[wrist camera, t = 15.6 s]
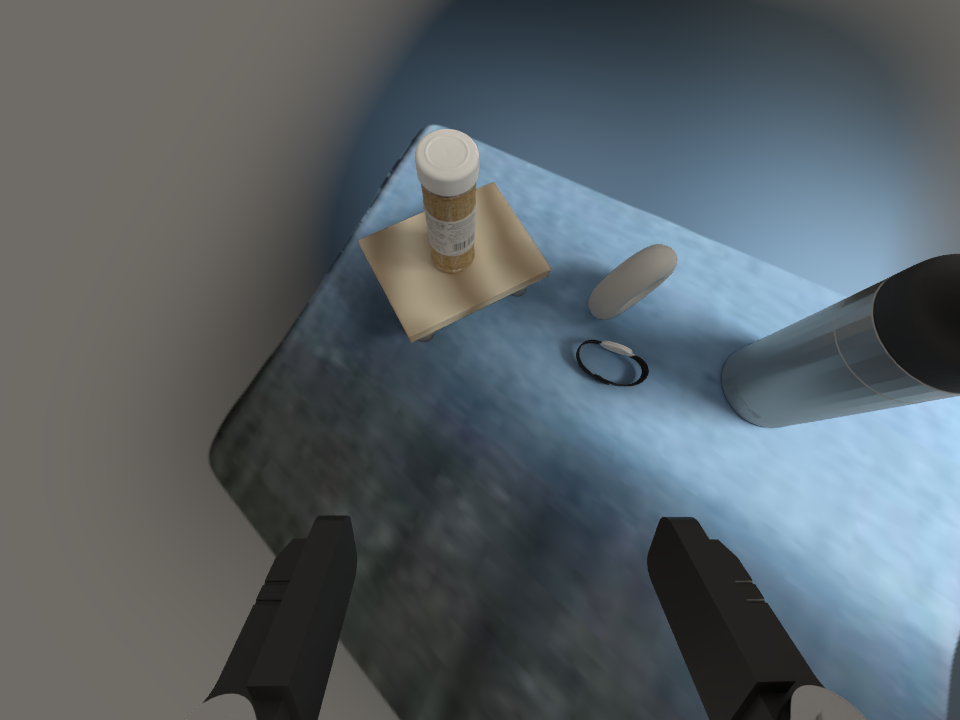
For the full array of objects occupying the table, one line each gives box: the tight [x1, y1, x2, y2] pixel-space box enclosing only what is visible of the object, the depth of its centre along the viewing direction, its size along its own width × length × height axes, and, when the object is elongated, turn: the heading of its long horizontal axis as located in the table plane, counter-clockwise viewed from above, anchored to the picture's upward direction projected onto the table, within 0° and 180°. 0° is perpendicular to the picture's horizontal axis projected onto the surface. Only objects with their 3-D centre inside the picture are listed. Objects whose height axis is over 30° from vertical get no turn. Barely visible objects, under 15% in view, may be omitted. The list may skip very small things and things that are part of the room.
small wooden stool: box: [358, 182, 551, 343], centre depth 44 cm, size 16×12×6 cm
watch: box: [576, 340, 649, 386], centre depth 43 cm, size 8×5×4 cm, turn 67°
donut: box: [588, 244, 677, 320], centre depth 42 cm, size 10×3×10 cm, turn 124°
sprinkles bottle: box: [415, 129, 479, 273], centre depth 34 cm, size 5×5×14 cm
